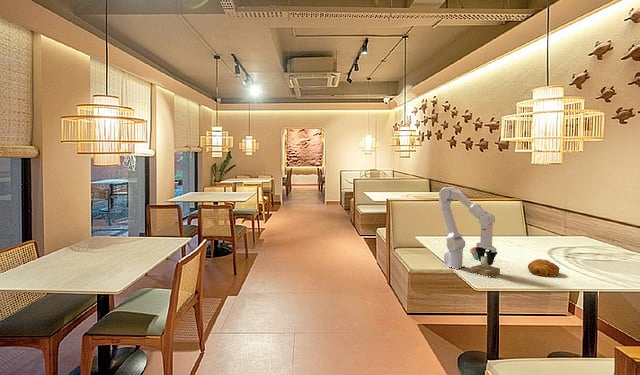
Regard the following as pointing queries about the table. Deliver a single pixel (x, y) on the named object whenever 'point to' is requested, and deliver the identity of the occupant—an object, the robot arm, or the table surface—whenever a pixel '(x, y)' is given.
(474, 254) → the cupcake
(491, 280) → the table surface
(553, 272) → the croissant
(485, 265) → the sage cylinder
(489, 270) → the walnut base
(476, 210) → the robot arm
